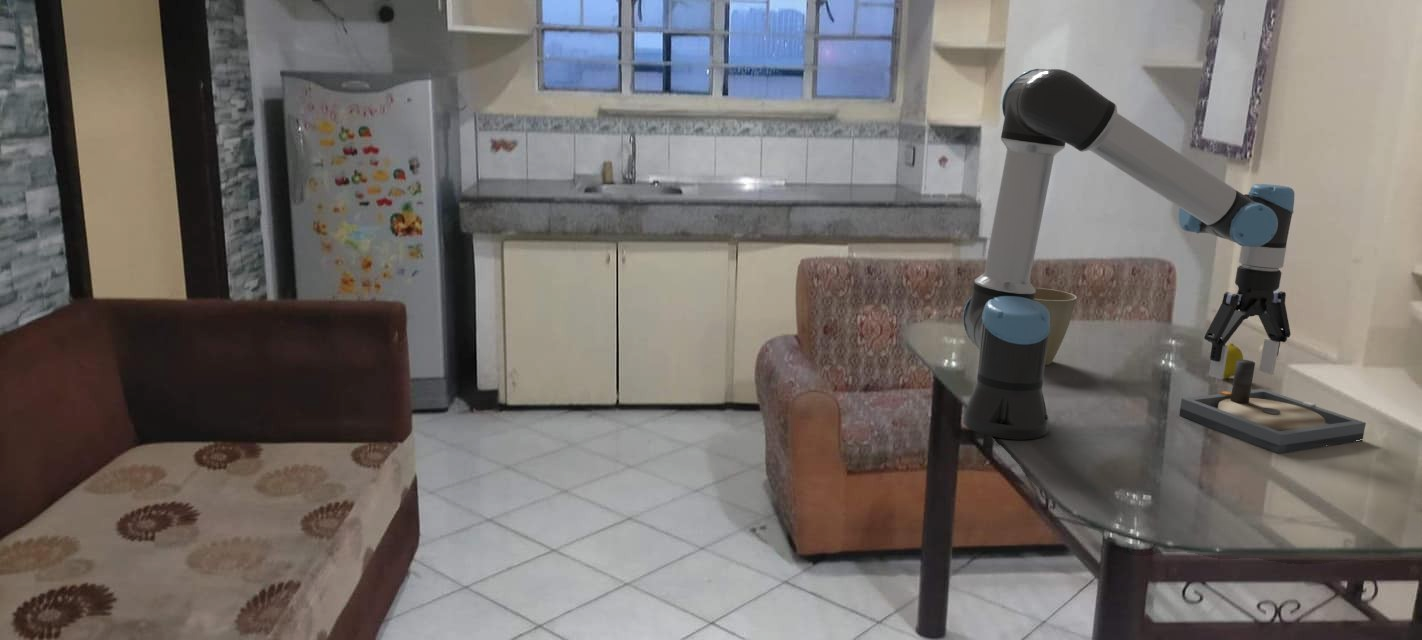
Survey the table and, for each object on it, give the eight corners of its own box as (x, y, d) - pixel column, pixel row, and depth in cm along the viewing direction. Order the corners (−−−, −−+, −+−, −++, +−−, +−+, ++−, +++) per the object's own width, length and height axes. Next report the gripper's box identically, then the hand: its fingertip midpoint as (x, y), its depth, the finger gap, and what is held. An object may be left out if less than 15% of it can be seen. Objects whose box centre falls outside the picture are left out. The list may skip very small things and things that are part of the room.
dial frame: (1277, 453, 184) (1281, 432, 183) (1179, 415, 204) (1181, 396, 203) (1362, 440, 193) (1366, 420, 192) (1259, 405, 213) (1262, 386, 212)
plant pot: (1077, 371, 233) (1086, 301, 229) (1010, 368, 233) (1018, 299, 229) (1057, 354, 247) (1065, 288, 244) (994, 351, 248) (1001, 285, 244)
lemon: (1211, 379, 230) (1217, 344, 229) (1213, 373, 235) (1218, 339, 233) (1239, 383, 228) (1245, 348, 226) (1240, 377, 233) (1245, 342, 231)
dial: (1346, 430, 194) (1355, 380, 191) (1277, 440, 187) (1286, 389, 184) (1262, 401, 210) (1269, 355, 207) (1196, 409, 203) (1203, 362, 200)
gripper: (1288, 261, 206) (1270, 365, 211) (1195, 265, 196) (1178, 373, 201) (1323, 269, 199) (1303, 375, 204) (1228, 272, 190) (1209, 384, 194)
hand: (1241, 375), depth 203 cm, fingers open, 13 cm apart
